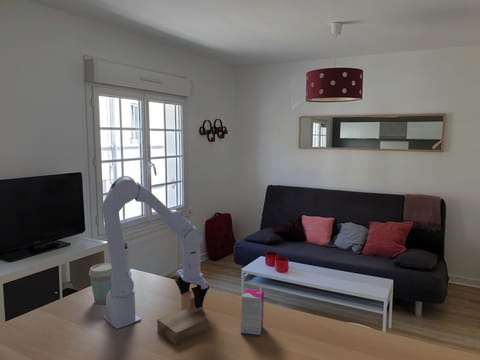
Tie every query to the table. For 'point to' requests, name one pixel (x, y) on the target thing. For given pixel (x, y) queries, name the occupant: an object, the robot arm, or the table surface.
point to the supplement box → (252, 312)
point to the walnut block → (181, 326)
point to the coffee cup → (100, 281)
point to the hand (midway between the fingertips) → (192, 303)
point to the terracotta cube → (189, 302)
